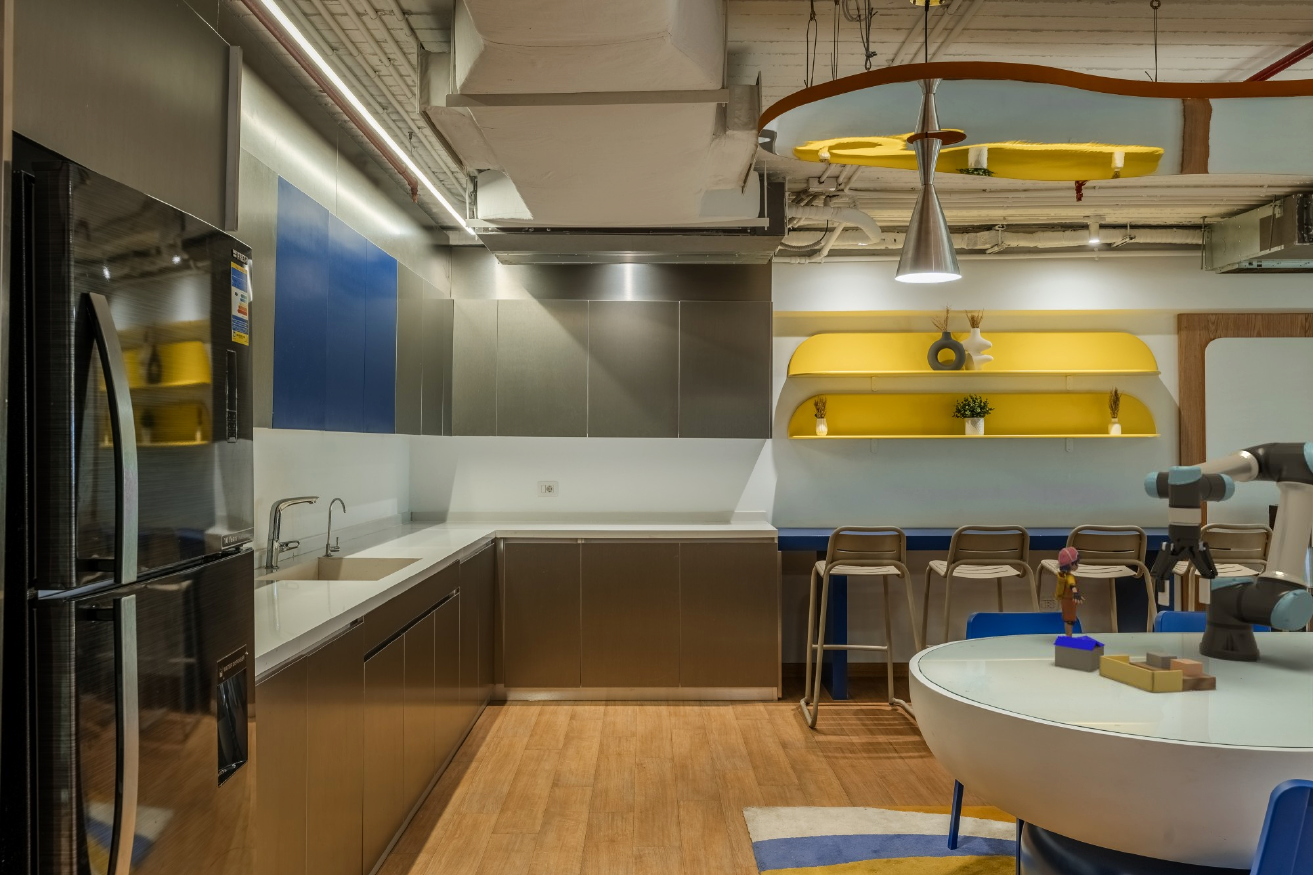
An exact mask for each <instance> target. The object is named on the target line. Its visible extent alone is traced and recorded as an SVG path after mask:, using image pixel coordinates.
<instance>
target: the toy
mask: <svg viewBox="0 0 1313 875" xmlns="http://www.w3.org/2000/svg"><path fill="white" fill-rule="evenodd" d="M1081 559H1082V557H1081V555H1080V554H1079V552H1078V551H1077V549H1076V547H1073V546H1069V547H1064V548H1062V549H1061V550H1060V551H1059V553H1058V555H1057V562H1058V563H1057V564H1055V565H1054V568H1055V569H1057V570H1059V571H1057V572H1056V587H1055V591H1054V594H1053V596H1054V598H1055V600H1057V601H1060V606H1061V619H1062V620H1063V622H1064V630H1065V636H1068V637H1073V627H1074V626H1075V623H1076V622H1077V620H1078V618H1077V607H1078V605H1080V603H1081V604H1083V601H1086V599H1085V598H1084V597H1083V596H1082V595H1081V594H1079V592H1080V591H1079V590H1080V589H1079V581H1078V579H1077V578H1076V577H1075V576H1074V574H1073V573H1072V572H1075V571H1077V570H1078V569H1079V566H1080V564H1079V563H1080V560H1081Z"/></svg>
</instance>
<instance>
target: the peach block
mask: <svg viewBox="0 0 1313 875" xmlns="http://www.w3.org/2000/svg"><path fill="white" fill-rule="evenodd" d="M1176 670H1181V671H1183V675H1185V676H1196V675H1203V674H1204V673H1203V672H1204V663H1203V662H1201V661H1197V660H1193V659H1188V658H1177V659H1171V662H1170V671H1176Z"/></svg>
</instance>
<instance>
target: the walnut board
mask: <svg viewBox="0 0 1313 875" xmlns="http://www.w3.org/2000/svg"><path fill="white" fill-rule="evenodd" d="M1129 664H1130V665H1133V666H1136V667H1139V668H1143V669H1146V670H1149V671H1152V672H1155V671H1170V668H1158V667H1155V666H1151V665H1148V664H1146V661H1129ZM1213 689H1214V690H1216V689H1217V678H1216V677H1215V676H1212V675H1209V674H1205V673H1203V675H1196V676H1185V675H1183V686H1182V691H1181V692H1190V690H1192V691H1193V690H1195V691H1210V690H1211V691H1213ZM1192 691H1191V692H1192Z"/></svg>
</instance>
